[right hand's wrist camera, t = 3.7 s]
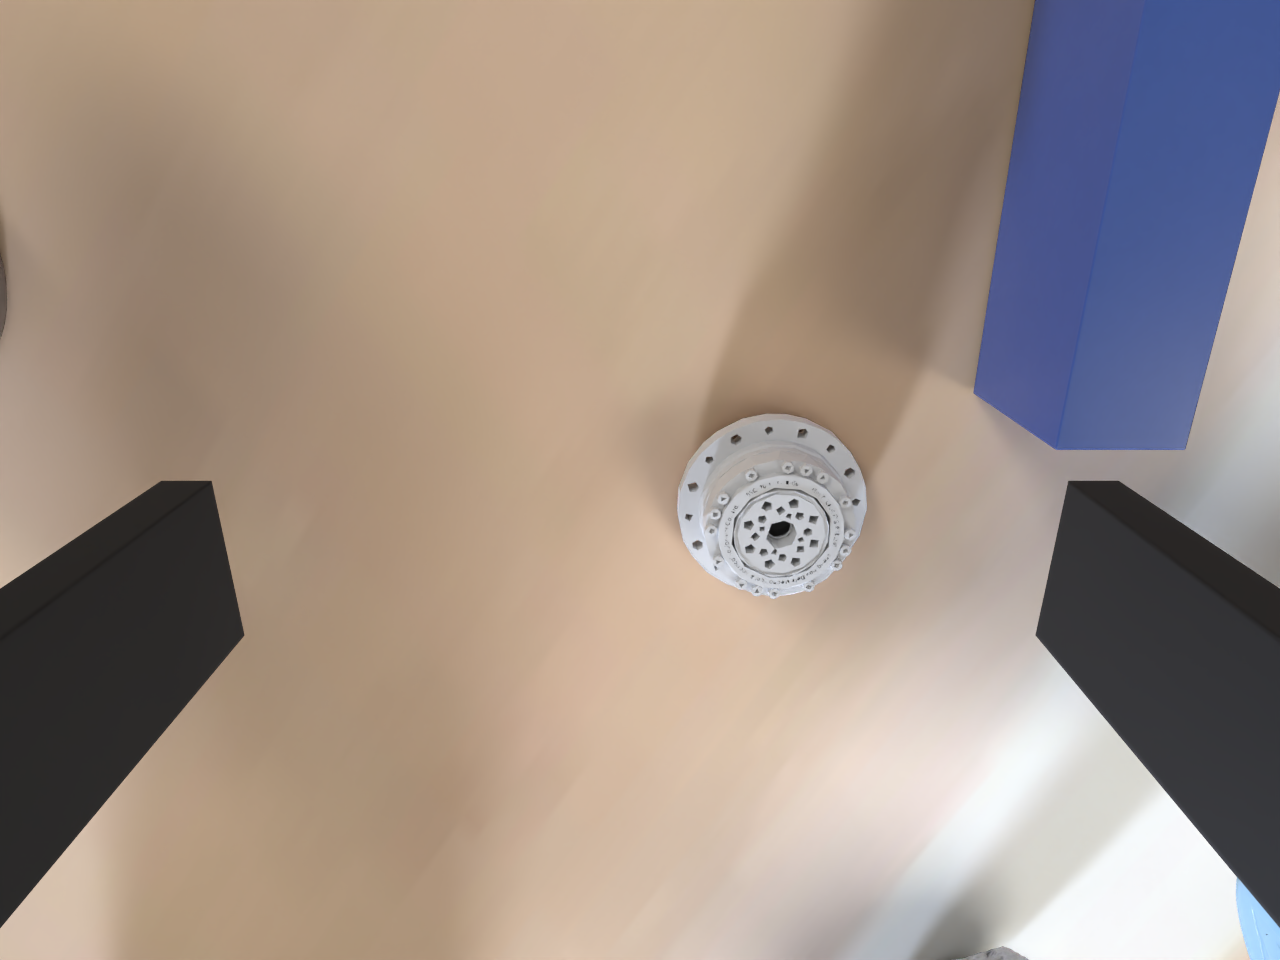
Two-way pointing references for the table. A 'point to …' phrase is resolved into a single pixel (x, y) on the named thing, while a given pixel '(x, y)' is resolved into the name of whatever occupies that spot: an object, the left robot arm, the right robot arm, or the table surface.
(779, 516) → the mechanical component
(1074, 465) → the table surface
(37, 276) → the table surface
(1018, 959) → the fossil
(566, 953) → the table surface
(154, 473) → the table surface
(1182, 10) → the bar
